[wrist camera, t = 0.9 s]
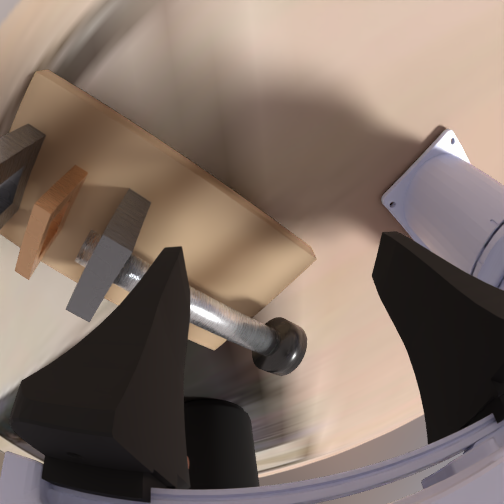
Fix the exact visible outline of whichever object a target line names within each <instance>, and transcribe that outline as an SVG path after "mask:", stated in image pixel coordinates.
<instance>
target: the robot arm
mask: <svg viewBox="0 0 504 504" xmlns="http://www.w3.org/2000/svg"><path fill="white" fill-rule="evenodd" d="M451 139H452V141H451ZM450 141H451V143H450ZM381 202H382V204H383V205H384V206H385V207H386V208H387V209H388V210H389V212H390V213H391V214H392V215H393V216H394V217H395V218H396V220H397V221H398V222H399V223H400V224H401V225H402V227H403V228H404V229H405V230H406V231H407V233H408V234H409V235H410V236H411V237H412V239H413V240H414V241H413V240H412V239H410V238H408V237H406V236H404V235H402V234H400V233H398V232H382V236H381V240H380V245H379V249H378V253H377V257H376V261H375V265H374V269H373V273H372V278H373V280H374V283H375V286H376V289H377V291H378V294H379V296H380V299H381V301H382V303H383V304H384V306H385V308H386V310H387V312H388V314H389V316H390V318H391V320H392V322H393V323H394V325H395V327H396V329H397V331H398V333H399V335H400V337H401V339H402V341H403V343H404V345H405V347H406V350H407V352H408V355H409V358H410V361H411V364H412V367H413V370H414V373H415V376H416V380H417V383H418V387H419V391H420V395H421V400H422V404H423V409H424V415H425V422H426V429H427V437H428V445H426V446H424V447H421V448H418V449H416V450H413V451H411V452H408V453H405V454H403V455H400V456H397V457H394V458H391V459H388V460H385V461H382V462H378V463H375V464H372V465H368V466H365V467H361V468H358V469H354V470H350V471H346V472H342V473H338V474H333V475H329V476H324V477H319V478H314V479H309V480H303V481H298V482H291V483H285V484H277V485H269V486H260V487H249V488H235V489H211V490H188V489H189V488H190V487H191V486H190V479H189V470H188V461H187V451H186V438H185V421H184V385H183V381H184V367H185V358H186V349H187V341H188V332H189V324H190V287H189V282H188V276H187V271H186V266H185V260H184V254H183V249H182V246H178V247H165V248H164V249H163V250H162V251H161V253H160V254H159V255H158V257H157V258H156V259H155V261H154V262H153V263H152V265H151V266H150V267H149V269H148V270H147V271H146V273H145V274H144V275H143V277H142V278H141V279H140V281H139V282H138V283H137V284H136V286H135V287H134V288H133V289H132V291H131V292H130V293H129V294H128V295H127V296H126V298H125V299H124V300H123V301H122V302H121V304H120V305H119V306H118V307H117V308H116V309H115V310H114V311H113V312H112V313H111V314H110V315H109V316H108V317H107V318H106V319H105V320H104V321H103V322H102V323H101V324H100V325H99V326H98V327H96V328H95V329H94V330H93V331H92V332H91V333H89V334H88V335H87V336H86V337H85V338H84V339H82V340H81V341H80V342H79V343H78V344H76V345H75V346H74V347H73V348H71V349H70V350H69V351H67V352H66V353H65V354H63V355H62V356H60V357H59V358H58V359H56V360H55V361H53V362H52V363H50V364H49V365H47V366H45V367H44V368H42V369H40V370H39V371H37V372H36V373H34V374H32V375H31V376H29V377H27V378H25V379H24V380H22V381H21V384H20V387H19V389H18V392H17V395H16V399H15V402H14V405H13V408H12V411H11V415H10V418H9V424H10V426H11V428H12V429H13V431H14V432H15V433H16V434H17V435H18V436H19V437H21V438H22V439H23V440H24V441H26V442H27V443H28V444H30V445H31V446H32V447H34V448H35V449H37V450H38V451H39V452H41V453H42V454H44V455H45V460H44V464H42V463H40V462H38V461H36V460H33V459H30V458H27V457H24V456H21V455H18V454H15V453H12V452H9V451H7V452H5V457H4V461H3V466H2V472H1V478H0V504H315V503H320V502H324V501H329V500H334V499H338V498H341V497H346V496H350V495H353V494H357V493H361V492H364V491H367V490H370V489H374V488H377V487H380V486H383V485H386V484H389V483H392V482H395V481H397V480H400V479H403V478H405V477H408V476H411V475H413V474H416V473H418V472H420V471H423V470H425V469H428V468H430V467H432V466H434V465H437V464H438V463H441V462H443V461H445V460H447V459H449V458H451V457H453V456H455V455H457V454H459V453H461V452H463V451H464V453H463V455H461V456H460V457H458V458H456V459H454V460H453V461H451V462H450V463H448V464H447V465H446V466H445V467H443V468H442V469H440V470H439V471H437V472H436V473H433V474H432V475H430V476H428V477H426V478H425V479H423V480H422V482H421V483H422V486H423V490H421V491H418V492H416V493H414V494H411V495H409V496H407V497H404V498H401V499H399V500H396V501H394V502H391V503H388V504H504V185H502V184H501V183H500V182H498V181H497V180H495V179H494V178H492V177H491V176H489V175H487V174H486V173H484V172H483V171H481V170H480V169H478V168H476V167H475V166H473V165H472V164H470V162H469V160H468V158H467V156H466V154H465V152H464V150H463V148H462V146H461V145H460V143H459V141H458V139H457V137H456V136H455V134H454V132H453V131H452V130H450V129H445V130H444V131H443V132H442V133H441V135H440V136H439V137H438V138H437V139H436V140H435V141H434V142H433V143H432V144H431V145H430V146H429V148H428V149H427V150H426V151H425V152H424V153H423V154H422V155H421V156H420V157H419V158H418V159H417V160H416V161H415V162H414V164H413V165H412V166H411V167H410V168H409V169H408V170H407V171H406V172H405V173H404V174H403V175H402V176H401V177H400V178H399V179H398V180H397V181H396V182H395V183H394V184H393V185H392V186H391V187H390V188H389V189H388V190H387V191H386V192H385V193H384V194H383V196H382V198H381ZM391 202H393V204H392V205H391V206H390V203H391Z"/></svg>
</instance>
